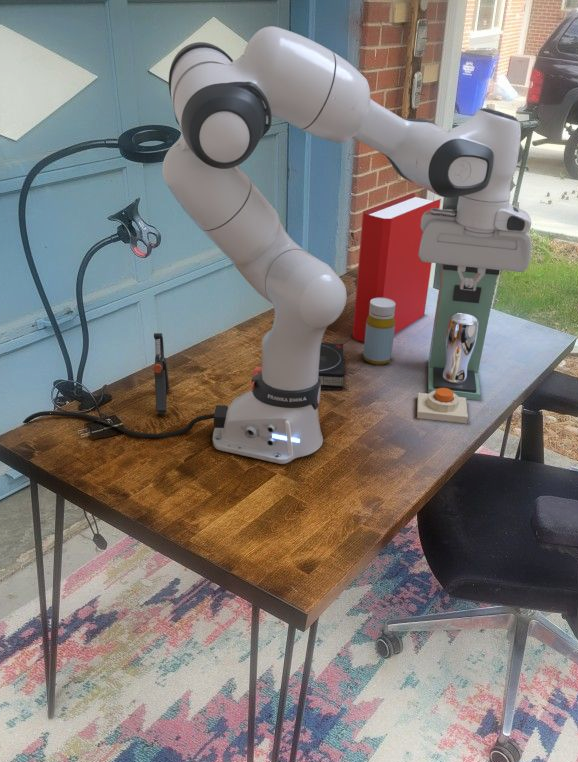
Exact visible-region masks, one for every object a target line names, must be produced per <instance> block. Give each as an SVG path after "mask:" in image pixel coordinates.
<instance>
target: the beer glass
mask: <svg viewBox="0 0 578 762" xmlns="http://www.w3.org/2000/svg"><path fill="white" fill-rule="evenodd" d="M478 323H479V319H478V318H477V317H476V316H474V315H471V314H468V313H454V314H452V315H451V316H450V320H449V324H448V328H447V333H446V362H445V367H444V370H443V372H442V379H443V380H444V381H446V382H448V383H452V384H462V383H464V382H466V381H467V367H468V363H469V360H470V357H471V355H472V352H473V349H474V346H475V343H476V339H477V333H478Z"/></svg>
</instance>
